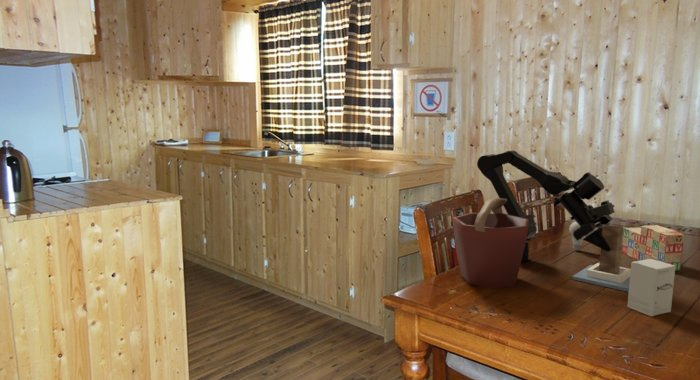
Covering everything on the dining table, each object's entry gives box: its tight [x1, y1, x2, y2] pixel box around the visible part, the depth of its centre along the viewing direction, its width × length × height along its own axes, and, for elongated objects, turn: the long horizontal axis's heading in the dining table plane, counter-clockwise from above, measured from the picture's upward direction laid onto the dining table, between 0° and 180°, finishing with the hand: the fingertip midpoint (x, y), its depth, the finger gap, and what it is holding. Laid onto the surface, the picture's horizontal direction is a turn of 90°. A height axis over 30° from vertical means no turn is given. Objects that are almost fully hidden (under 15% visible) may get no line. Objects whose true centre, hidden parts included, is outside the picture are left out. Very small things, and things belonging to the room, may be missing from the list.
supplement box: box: [627, 259, 676, 317], centre depth 134 cm, size 7×7×13 cm
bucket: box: [452, 197, 528, 289], centre depth 158 cm, size 24×22×25 cm
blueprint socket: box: [571, 262, 631, 293], centre depth 159 cm, size 16×16×3 cm
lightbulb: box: [568, 221, 586, 251], centre depth 189 cm, size 6×6×11 cm
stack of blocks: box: [621, 224, 685, 271], centre depth 176 cm, size 21×6×12 cm, turn 7°
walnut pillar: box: [598, 224, 624, 274], centre depth 158 cm, size 4×4×14 cm
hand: (612, 249), depth 157 cm, fingers closed on walnut pillar, 4 cm apart
